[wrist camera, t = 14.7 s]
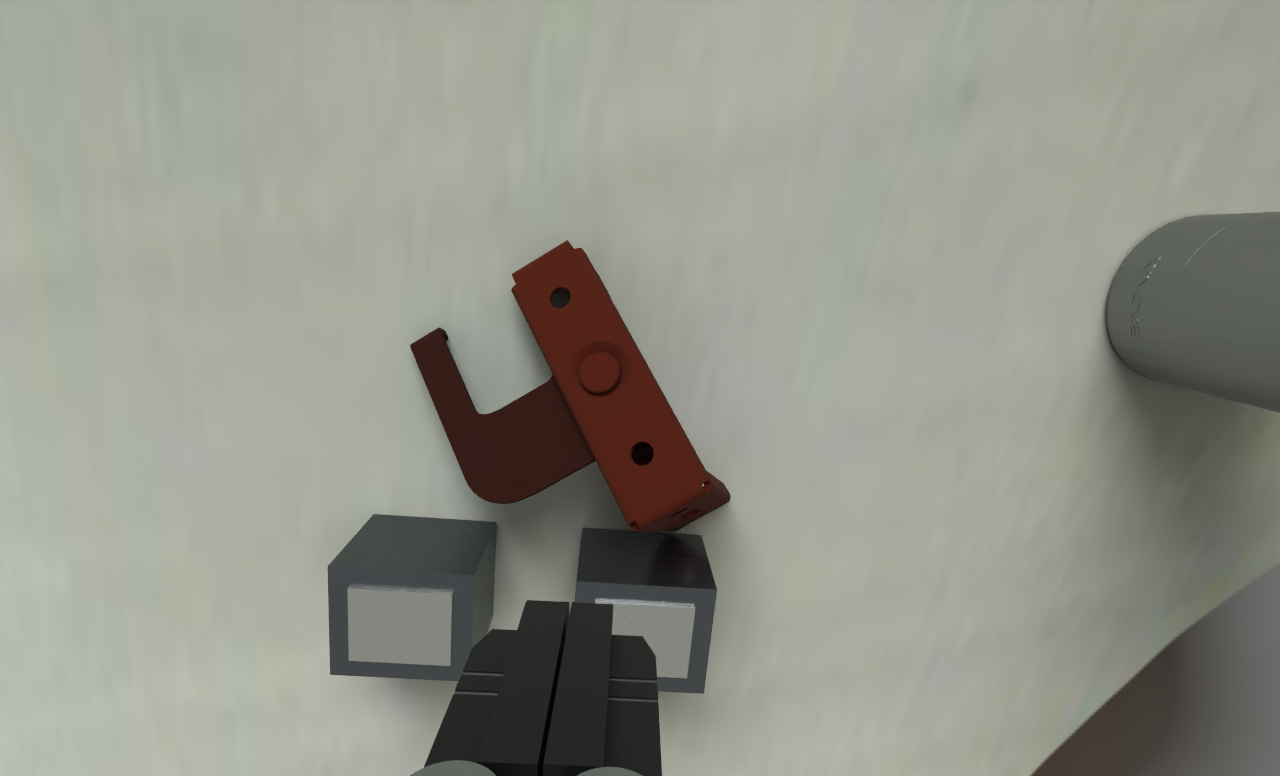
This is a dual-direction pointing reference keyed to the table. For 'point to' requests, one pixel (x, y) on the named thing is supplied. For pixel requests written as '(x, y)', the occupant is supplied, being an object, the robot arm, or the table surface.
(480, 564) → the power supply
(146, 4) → the table surface
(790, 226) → the table surface
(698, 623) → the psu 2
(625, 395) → the bracket
